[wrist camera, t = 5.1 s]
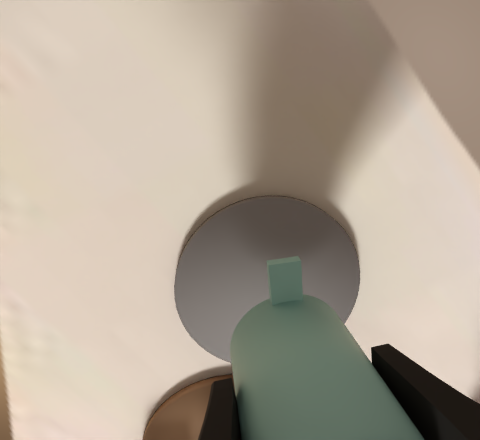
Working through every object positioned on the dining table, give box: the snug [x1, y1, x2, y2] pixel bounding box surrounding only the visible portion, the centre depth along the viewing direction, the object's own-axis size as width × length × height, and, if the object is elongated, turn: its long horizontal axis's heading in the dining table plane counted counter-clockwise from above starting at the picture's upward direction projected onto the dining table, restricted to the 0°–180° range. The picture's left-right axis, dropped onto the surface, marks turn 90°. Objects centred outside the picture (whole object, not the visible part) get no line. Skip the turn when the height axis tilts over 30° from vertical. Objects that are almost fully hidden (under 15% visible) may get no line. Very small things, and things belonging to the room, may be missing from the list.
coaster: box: [174, 196, 360, 363], centre depth 18 cm, size 10×10×1 cm
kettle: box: [230, 256, 425, 440], centre depth 10 cm, size 6×5×6 cm
